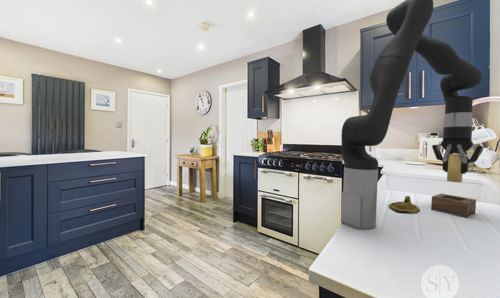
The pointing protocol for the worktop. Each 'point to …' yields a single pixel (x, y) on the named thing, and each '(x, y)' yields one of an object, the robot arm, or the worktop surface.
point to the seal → (404, 207)
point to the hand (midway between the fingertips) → (454, 172)
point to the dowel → (454, 168)
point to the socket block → (453, 205)
